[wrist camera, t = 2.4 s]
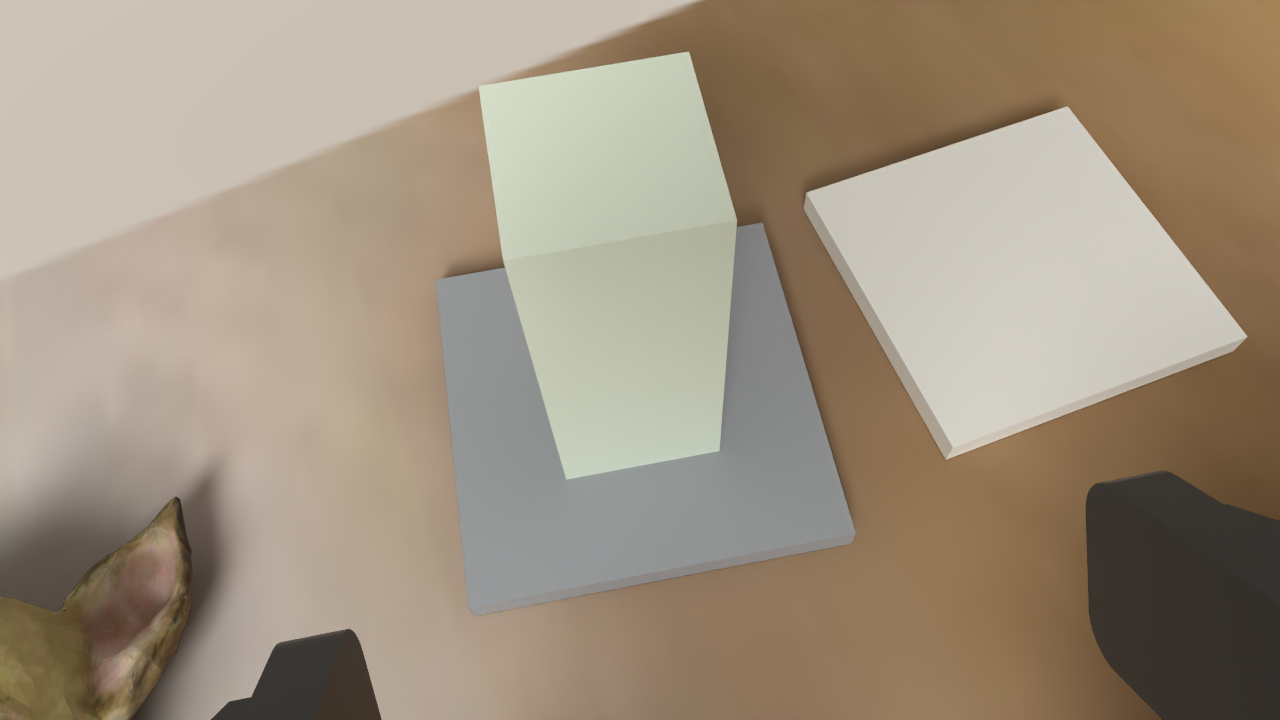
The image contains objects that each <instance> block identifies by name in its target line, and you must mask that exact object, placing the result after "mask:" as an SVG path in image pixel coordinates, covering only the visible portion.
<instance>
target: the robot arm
mask: <svg viewBox="0 0 1280 720" xmlns="http://www.w3.org/2000/svg"><path fill="white" fill-rule="evenodd" d="M1086 533H1087V564H1088V595H1089V615H1090V621H1091V625H1092V629H1093V632H1094V635H1095V638H1096V641H1097V643H1098V646H1099V648H1100V650H1101V652H1102V654H1103V655H1104V657H1105V659H1106V660H1107V662H1108V663H1109V665H1110V666H1111V667H1112V668H1113V670H1114V671H1115V672H1116V673H1117V674H1118V675H1119V676H1120V677H1121V678H1122V679H1123V680H1124V681H1125V682H1126V683H1127V684H1128V685H1129V686H1130V687H1131V688H1132V689H1133V690H1134V691H1135V692H1136V693H1137V694H1138V695H1139V696H1140V697H1141V698H1142V699H1143V700H1144V701H1145V702H1146V703H1147V704H1148V705H1149V706H1150V707H1151V708H1152V709H1153V710H1154V711H1155V712H1156V713H1157V714H1158V715H1159V716H1160V717H1161V718H1162V719H1163V720H1280V521H1277V520H1274V519H1271V518H1268V517H1265V516H1261V515H1258V514H1255V513H1252V512H1249V511H1246V510H1243V509H1239V508H1236V507H1233V506H1230V505H1227V504H1226V505H1223V504H1222V503H1220V502H1219V501H1217V500H1215V499H1214V498H1212V497H1210V496H1209V495H1207V494H1205V493H1204V492H1202V491H1201V490H1199V489H1197V488H1196V487H1194V486H1192V485H1191V484H1189V483H1187V482H1186V481H1184V480H1183V479H1181V478H1179V477H1178V476H1176V475H1174V474H1172V473H1170V472H1167V471H1157V472H1152V473H1147V474H1142V475H1137V476H1132V477H1127V478H1122V479H1117V480H1112V481H1106V482H1101V483H1097V484H1095V485H1093V486H1092V487H1091V489H1090V490H1089V492H1088V495H1087V500H1086ZM211 720H381V716H380V713H379V709H378V705H377V702H376V698H375V694H374V691H373V687H372V684H371V680H370V676H369V673H368V669H367V665H366V662H365V658H364V655H363V651H362V648H361V645H360V642H359V640H358V638H357V636H356V634H355V633H354V632H353V631H352V630H351V629H346V630H341V631H336V632H331V633H326V634H321V635H315V636H310V637H305V638H300V639H295V640H290V641H285V642H280V643H278V644H277V645H276V646H275V647H274V649H273V651H272V653H271V655H270V657H269V659H268V662H267V664H266V666H265V668H264V671H263V673H262V675H261V677H260V679H259V682H258V684H257V686H256V688H255V690H254V693H253V695H252V697H250V698H245V699H240V700H235V701H230V702H228V703H227V704H226V705H225V706H224V707H223V708H222V709H221V710H220V711H219V712H218V713H217V714H216V715H215V716H214V717H213V718H212V719H211Z"/></svg>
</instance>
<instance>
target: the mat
mask: <svg viewBox="0 0 1280 720" xmlns="http://www.w3.org/2000/svg"><path fill="white" fill-rule="evenodd" d="M804 211H805V212H806V214H807V216H808V218H809V220H810V221H811V223H812V225H813V227H814V228H815V230H816V232H817V234H818V235H819V237H820V239H821V241H822V242H823V244H824V246H825V248H826V249H827V251H828V253H829V255H830V257H831V258H832V260H833V262H834V264H835V265H836V267H837V269H838V271H839V272H840V274H841V276H842V278H843V279H844V281H845V283H846V285H847V287H848V288H849V290H850V292H851V294H852V295H853V297H854V299H855V301H856V302H857V304H858V306H859V308H860V309H861V311H862V313H863V315H864V316H865V318H866V320H867V322H868V324H869V325H870V327H871V329H872V331H873V332H874V334H875V336H876V338H877V339H878V341H879V343H880V345H881V346H882V348H883V350H884V352H885V353H886V355H887V357H888V359H889V361H890V362H891V364H892V366H893V368H894V369H895V371H896V373H897V375H898V376H899V378H900V380H901V382H902V383H903V385H904V387H905V389H906V391H907V392H908V394H909V396H910V398H911V399H912V401H913V403H914V405H915V406H916V408H917V410H918V412H919V413H920V415H921V417H922V419H923V420H924V422H925V424H926V426H927V428H928V429H929V431H930V433H931V435H932V436H933V438H934V440H935V442H936V443H937V445H938V447H939V449H940V450H941V452H942V454H943V456H944V457H945V459H949V458H952V457H954V456H957V455H960V454H962V453H965V452H968V451H970V450H973V449H976V448H978V447H981V446H983V445H986V444H989V443H991V442H994V441H997V440H999V439H1002V438H1005V437H1007V436H1010V435H1013V434H1015V433H1018V432H1021V431H1023V430H1026V429H1029V428H1031V427H1034V426H1036V425H1039V424H1042V423H1044V422H1047V421H1050V420H1052V419H1055V418H1058V417H1060V416H1063V415H1066V414H1068V413H1071V412H1074V411H1076V410H1079V409H1081V408H1084V407H1087V406H1089V405H1092V404H1095V403H1097V402H1100V401H1103V400H1105V399H1108V398H1111V397H1113V396H1116V395H1119V394H1121V393H1124V392H1127V391H1129V390H1132V389H1134V388H1137V387H1140V386H1142V385H1145V384H1148V383H1150V382H1153V381H1156V380H1158V379H1161V378H1164V377H1166V376H1169V375H1172V374H1174V373H1177V372H1179V371H1182V370H1185V369H1187V368H1190V367H1193V366H1195V365H1198V364H1201V363H1203V362H1206V361H1209V360H1211V359H1214V358H1217V357H1219V356H1222V355H1225V354H1227V353H1230V352H1232V351H1234V350H1235V349H1236V348H1237V347H1238V346H1239V345H1240V344H1241V343H1242V342H1243V341H1244V340H1245V339H1246V338H1247V335H1246V334H1245V333H1244V332H1243V330H1242V329H1241V328H1240V326H1239V325H1238V324H1237V323H1236V321H1235V320H1234V319H1233V317H1232V316H1231V315H1230V314H1229V312H1228V311H1227V310H1226V308H1225V307H1224V306H1223V305H1222V303H1221V302H1220V301H1219V300H1218V298H1217V297H1216V296H1215V294H1214V293H1213V292H1212V291H1211V289H1210V288H1209V287H1208V285H1207V284H1206V283H1205V282H1204V280H1203V279H1202V278H1201V276H1200V275H1199V274H1198V273H1197V271H1196V270H1195V269H1194V268H1193V266H1192V265H1191V264H1190V262H1189V261H1188V260H1187V259H1186V257H1185V256H1184V255H1183V253H1182V252H1181V251H1180V250H1179V248H1178V247H1177V246H1176V244H1175V243H1174V242H1173V241H1172V239H1171V238H1170V237H1169V236H1168V234H1167V233H1166V232H1165V230H1164V229H1163V228H1162V227H1161V225H1160V224H1159V223H1158V221H1157V220H1156V219H1155V218H1154V216H1153V215H1152V214H1151V212H1150V211H1149V210H1148V209H1147V207H1146V206H1145V205H1144V204H1143V202H1142V201H1141V200H1140V198H1139V197H1138V196H1137V195H1136V193H1135V192H1134V191H1133V189H1132V188H1131V187H1130V186H1129V184H1128V183H1127V182H1126V180H1125V179H1124V178H1123V177H1122V175H1121V174H1120V173H1119V171H1118V170H1117V169H1116V168H1115V166H1114V165H1113V164H1112V163H1111V161H1110V160H1109V159H1108V157H1107V156H1106V155H1105V154H1104V152H1103V151H1102V150H1101V148H1100V147H1099V146H1098V145H1097V143H1096V142H1095V141H1094V139H1093V138H1092V137H1091V136H1090V134H1089V133H1088V132H1087V131H1086V129H1085V128H1084V127H1083V125H1082V124H1081V123H1080V122H1079V120H1078V119H1077V118H1076V116H1075V115H1074V114H1073V113H1072V111H1071V110H1070V109H1069V107H1068V106H1067V107H1064V108H1061V109H1058V110H1055V111H1052V112H1049V113H1046V114H1043V115H1040V116H1037V117H1034V118H1031V119H1028V120H1025V121H1022V122H1019V123H1016V124H1013V125H1009V126H1006V127H1003V128H1000V129H997V130H994V131H991V132H988V133H985V134H982V135H979V136H976V137H973V138H970V139H967V140H964V141H961V142H958V143H955V144H952V145H949V146H946V147H943V148H940V149H937V150H934V151H931V152H928V153H925V154H922V155H919V156H916V157H913V158H910V159H907V160H904V161H901V162H898V163H895V164H892V165H889V166H886V167H882V168H879V169H876V170H873V171H870V172H867V173H864V174H861V175H858V176H855V177H852V178H849V179H846V180H843V181H840V182H837V183H834V184H831V185H828V186H825V187H822V188H819V189H816V190H813V191H810V192H807V193H806V198H805V204H804Z"/></svg>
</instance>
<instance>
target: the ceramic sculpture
mask: <svg viewBox="0 0 1280 720" xmlns="http://www.w3.org/2000/svg"><path fill="white" fill-rule="evenodd" d="M192 576H193V575H192V564H191V548H190V546H189V543H188V540H187V535H186V530H185V524H184V519H183V513H182V508H181V502H180V499H179V498H178V497H175V498H173V499H171V500H170V501H169V502H168V504H167V505H166V506H165V507H164V508H163V509H162V510H161V512H160V513H159V514H158V515H157V517H156V518H155V519H154V520H153V521H152V523H151V524H150V525H149V526H148V527H147V528H146V529H144V530H143V531H142V532H141V533H139V534H138V535H137V536H136V537H134V538H133V539H132V540H130V541H129V542H128V543H126V544H125V545H124V546H122V547H121V548H120V549H119V550H118V551H116V552H113V553H111V554H109V555H107V556H106V557H104V558H103V559H102V560H101V561H99V562H98V563H97V564H95V565H94V566H93V567H92V568H91V569H90V570H89V571H88V572H87V573H86V574H85V575H84V576H83V578H82V579H81V580H80V582H79V583H78V584H77V586H76V587H75V588H74V589H73V590H72V591H71V592H70V594H69V595H68V596H67V597H66V601H65V603H64V605H63V607H62V609H61V610H59V611H55V612H53V611H50V610H47V609H44V608H41V607H38V606H35V605H32V604H30V603H27V602H24V601H21V600H18V599H14V598H8V597H0V720H131V719H132V717H133V716H134V715H135V713H136V712H137V710H138V709H139V708H140V706H141V705H142V703H143V702H144V701H145V699H146V698H147V696H148V695H149V694H150V692H151V691H152V689H153V688H154V686H155V685H156V683H157V682H158V680H159V679H160V677H161V674H162V673H163V671H164V670H165V668H166V666H167V664H168V663H169V661H170V660H171V657H172V656H173V655H174V654H175V653H176V651H177V647H178V643H179V639H180V636H181V634H182V632H183V629H184V627H185V624H186V622H187V619H188V615H189V611H190V607H191V581H192Z"/></svg>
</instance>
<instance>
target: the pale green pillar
mask: <svg viewBox="0 0 1280 720" xmlns="http://www.w3.org/2000/svg"><path fill="white" fill-rule="evenodd" d="M479 93H480V100H481V107H482V114H483V121H484V128H485V135H486V142H487V150H488V157H489V164H490V171H491V178H492V185H493V192H494V199H495V206H496V213H497V221H498V228H499V235H500V242H501V249H502V256H503V262H504V266H505V269H506V272H507V276H508V279H509V283H510V286H511V290H512V293H513V297H514V300H515V304H516V307H517V311H518V314H519V318H520V321H521V324H522V328H523V331H524V335H525V338H526V342H527V345H528V349H529V352H530V356H531V359H532V363H533V366H534V370H535V373H536V376H537V380H538V383H539V387H540V390H541V394H542V397H543V401H544V404H545V408H546V411H547V415H548V418H549V422H550V425H551V428H552V432H553V435H554V439H555V442H556V446H557V449H558V453H559V456H560V460H561V463H562V467H563V470H564V474H565V477H566V480H567V479H572V478H578V477H583V476H588V475H594V474H599V473H605V472H610V471H615V470H621V469H626V468H631V467H637V466H642V465H647V464H653V463H658V462H664V461H669V460H674V459H680V458H685V457H690V456H696V455H701V454H706V453H712V452H717V451H719V450H720V437H721V424H722V411H723V398H724V385H725V372H726V359H727V345H728V332H729V319H730V306H731V293H732V280H733V267H734V254H735V241H736V228H737V218H736V215H735V211H734V208H733V204H732V201H731V197H730V194H729V190H728V187H727V183H726V180H725V176H724V173H723V169H722V166H721V162H720V159H719V155H718V152H717V148H716V145H715V141H714V138H713V134H712V131H711V127H710V124H709V120H708V117H707V113H706V110H705V106H704V103H703V99H702V96H701V92H700V89H699V85H698V82H697V78H696V75H695V71H694V68H693V64H692V61H691V57H690V54H689V52H683V53H677V54H671V55H665V56H659V57H653V58H647V59H641V60H635V61H629V62H623V63H617V64H611V65H605V66H599V67H592V68H586V69H580V70H574V71H568V72H562V73H556V74H550V75H544V76H538V77H532V78H526V79H520V80H514V81H508V82H502V83H496V84H490V85H484V86H479Z"/></svg>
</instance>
